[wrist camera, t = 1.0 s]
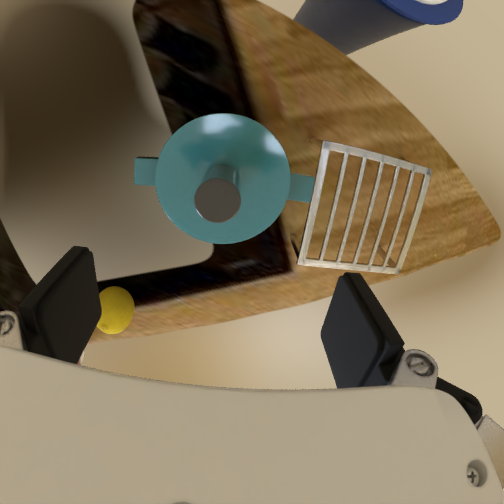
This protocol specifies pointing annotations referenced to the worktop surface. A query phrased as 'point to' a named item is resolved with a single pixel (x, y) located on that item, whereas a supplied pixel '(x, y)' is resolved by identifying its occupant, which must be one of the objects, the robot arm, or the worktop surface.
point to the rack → (316, 193)
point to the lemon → (115, 310)
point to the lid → (222, 178)
